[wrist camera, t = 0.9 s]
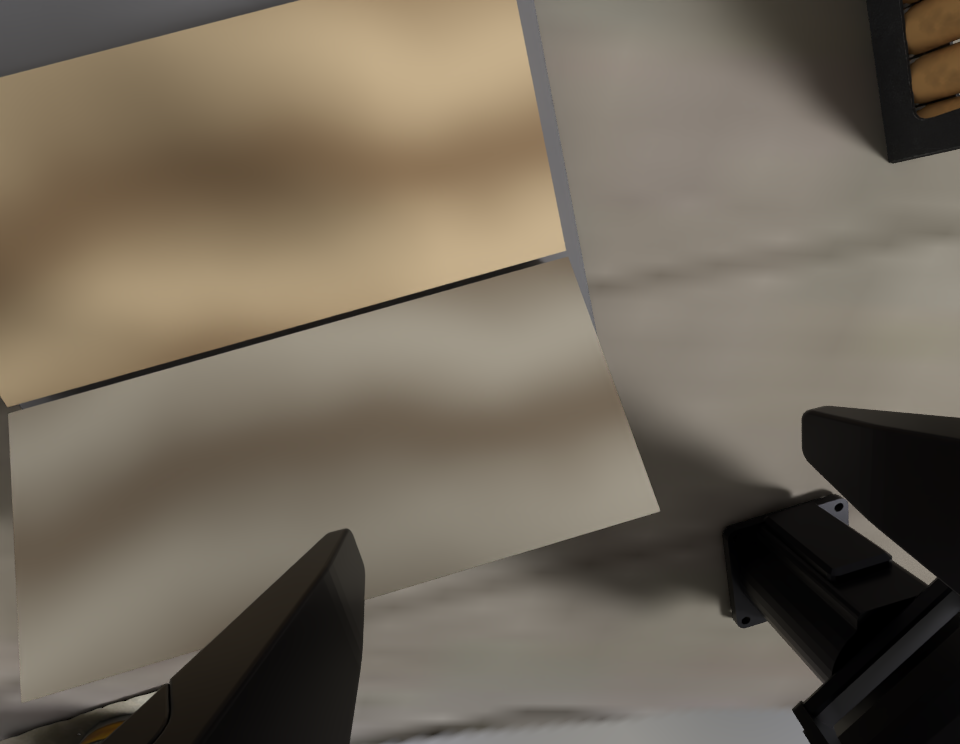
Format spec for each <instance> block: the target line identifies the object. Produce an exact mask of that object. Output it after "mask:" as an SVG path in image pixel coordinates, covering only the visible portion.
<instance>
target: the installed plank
mask: <svg viewBox="0 0 960 744" xmlns="http://www.w3.org/2000/svg"><path fill="white" fill-rule="evenodd" d="M563 251H566V247H565V242H564V237H563V232H562V227H561V222H560V217H559V212H558V207H557V202H556V197H555V192H554V187H553V182H552V177H551V172H550V167H549V162H548V157H547V152H546V147H545V142H544V137H543V132H542V127H541V122H540V117H539V112H538V106H537V101H536V96H535V91H534V86H533V81H532V76H531V71H530V66H529V61H528V56H527V51H526V46H525V41H524V36H523V31H522V26H521V21H520V16H519V11H518V6H517V1H516V0H298V1H294V2H291V3H287V4H283V5H279V6H275V7H271V8H267V9H263V10H260V11H256V12H252V13H248V14H244V15H240V16H236V17H232V18H229V19H225V20H221V21H217V22H213V23H209V24H205V25H201V26H198V27H194V28H190V29H186V30H182V31H178V32H174V33H170V34H167V35H163V36H159V37H155V38H151V39H147V40H143V41H139V42H136V43H132V44H128V45H124V46H120V47H116V48H112V49H108V50H105V51H101V52H97V53H93V54H89V55H85V56H81V57H77V58H74V59H70V60H66V61H62V62H58V63H54V64H50V65H46V66H43V67H39V68H35V69H31V70H27V71H23V72H19V73H15V74H12V75H8V76H4V77H0V396H1V398H2V399H3V401H4V403H5V404H6V406H7V407H10V406H14V405H17V404H21V403H24V402H28V401H32V400H35V399H39V398H42V397H46V396H49V395H53V394H57V393H60V392H64V391H67V390H71V389H74V388H78V387H82V386H85V385H89V384H92V383H96V382H99V381H103V380H106V379H110V378H114V377H117V376H121V375H124V374H128V373H131V372H135V371H139V370H142V369H146V368H149V367H153V366H156V365H160V364H164V363H167V362H171V361H174V360H178V359H181V358H185V357H189V356H192V355H196V354H199V353H203V352H206V351H210V350H214V349H217V348H221V347H224V346H228V345H231V344H235V343H239V342H242V341H246V340H249V339H253V338H256V337H260V336H263V335H267V334H271V333H274V332H278V331H281V330H285V329H288V328H292V327H296V326H299V325H303V324H306V323H310V322H313V321H317V320H321V319H324V318H328V317H331V316H335V315H338V314H342V313H346V312H349V311H353V310H356V309H360V308H363V307H367V306H371V305H374V304H378V303H381V302H385V301H388V300H392V299H396V298H399V297H403V296H406V295H410V294H413V293H417V292H420V291H424V290H428V289H431V288H435V287H438V286H442V285H445V284H449V283H453V282H456V281H460V280H463V279H467V278H470V277H474V276H478V275H481V274H485V273H488V272H492V271H495V270H499V269H503V268H506V267H510V266H513V265H517V264H520V263H524V262H528V261H531V260H535V259H538V258H542V257H545V256H549V255H553V254H556V253H560V252H563Z"/></svg>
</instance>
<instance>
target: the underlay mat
mask: <svg viewBox="0 0 960 744" xmlns="http://www.w3.org/2000/svg"><path fill="white" fill-rule="evenodd" d="M294 1H298V0H0V77H4V76H8V75H12V74H15V73H19V72H23V71H27V70H31V69H35V68H39V67H43V66H46V65H50V64H54V63H58V62H62V61H66V60H70V59H74V58H77V57H81V56H85V55H89V54H93V53H97V52H101V51H105V50H108V49H112V48H116V47H120V46H124V45H128V44H132V43H136V42H139V41H143V40H147V39H151V38H155V37H159V36H163V35H167V34H170V33H174V32H178V31H182V30H186V29H190V28H194V27H198V26H201V25H205V24H209V23H213V22H217V21H221V20H225V19H229V18H232V17H236V16H240V15H244V14H248V13H252V12H256V11H260V10H263V9H267V8H271V7H275V6H279V5H283V4H287V3H291V2H294ZM516 1H517V6H518V11H519V16H520V21H521V26H522V31H523V36H524V41H525V46H526V51H527V56H528V61H529V66H530V71H531V76H532V81H533V86H534V91H535V96H536V101H537V106H538V112H539V117H540V122H541V127H542V132H543V137H544V142H545V147H546V152H547V157H548V162H549V167H550V172H551V177H552V182H553V187H554V192H555V197H556V202H557V207H558V212H559V217H560V222H561V227H562V232H563V237H564V242H565V247H566V251H563V252H560V253H556V254H553V255H549V256H545V257H542V258H538V259H535V260H531V261H528V262H524V263H520V264H517V265H513V266H510V267H506V268H503V269H499V270H495V271H492V272H488V273H485V274H481V275H478V276H474V277H470V278H467V279H463V280H460V281H456V282H453V283H449V284H445V285H442V286H438V287H435V288H431V289H428V290H424V291H420V292H417V293H413V294H410V295H406V296H403V297H399V298H396V299H392V300H388V301H385V302H381V303H378V304H374V305H371V306H367V307H363V308H360V309H356V310H353V311H349V312H346V313H342V314H338V315H335V316H331V317H328V318H324V319H321V320H317V321H313V322H310V323H306V324H303V325H299V326H296V327H292V328H288V329H285V330H281V331H278V332H274V333H271V334H267V335H263V336H260V337H256V338H253V339H249V340H246V341H242V342H239V343H235V344H231V345H228V346H224V347H221V348H217V349H214V350H210V351H206V352H203V353H199V354H196V355H192V356H189V357H185V358H181V359H178V360H174V361H171V362H167V363H164V364H160V365H156V366H153V367H149V368H146V369H142V370H139V371H135V372H131V373H128V374H124V375H121V376H117V377H114V378H110V379H106V380H103V381H99V382H96V383H92V384H89V385H85V386H82V387H78V388H74V389H71V390H67V391H64V392H60V393H57V394H53V395H49V396H46V397H42V398H39V399H35V400H32V401H28V402H24V403H21V404H19V405H20V407H21V408H22V410H23V409H26V408H30V407H33V406H37V405H40V404H44V403H47V402H51V401H55V400H58V399H62V398H65V397H69V396H72V395H76V394H80V393H83V392H87V391H90V390H94V389H97V388H101V387H105V386H108V385H112V384H115V383H119V382H122V381H126V380H129V379H133V378H137V377H140V376H144V375H147V374H151V373H154V372H158V371H162V370H165V369H169V368H172V367H176V366H179V365H183V364H186V363H190V362H194V361H197V360H201V359H204V358H208V357H211V356H215V355H219V354H222V353H226V352H229V351H233V350H236V349H240V348H243V347H247V346H251V345H254V344H258V343H261V342H265V341H268V340H272V339H276V338H279V337H283V336H286V335H290V334H293V333H297V332H300V331H304V330H308V329H311V328H315V327H318V326H322V325H325V324H329V323H333V322H336V321H340V320H343V319H347V318H350V317H354V316H357V315H361V314H365V313H368V312H372V311H375V310H379V309H382V308H386V307H390V306H393V305H397V304H400V303H404V302H407V301H411V300H414V299H418V298H422V297H425V296H429V295H432V294H436V293H439V292H443V291H447V290H450V289H454V288H457V287H461V286H464V285H468V284H471V283H475V282H479V281H482V280H486V279H489V278H493V277H496V276H500V275H504V274H507V273H511V272H514V271H518V270H521V269H525V268H528V267H532V266H536V265H539V264H543V263H546V262H550V261H553V260H557V259H561V258H564V257H568V258H569V260H570V263H571V266H572V269H573V271H574V274H575V277H576V280H577V282H578V285H579V288H580V291H581V293H582V296H583V299H584V302H585V304H586V307H587V310H588V313H589V315H590V318H591V321H592V324H593V326H594V329H595V332H596V328H595V322H594V317H593V312H592V306H591V301H590V296H589V290H588V285H587V280H586V275H585V269H584V264H583V259H582V253H581V248H580V243H579V238H578V232H577V227H576V222H575V216H574V211H573V206H572V201H571V195H570V190H569V185H568V179H567V174H566V169H565V163H564V158H563V153H562V148H561V142H560V137H559V132H558V126H557V121H556V116H555V111H554V105H553V100H552V95H551V89H550V84H549V79H548V74H547V68H546V63H545V58H544V52H543V47H542V42H541V36H540V31H539V26H538V21H537V15H536V10H535V5H534V0H516ZM596 335H597V333H596Z"/></svg>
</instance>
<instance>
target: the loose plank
mask: <svg viewBox="0 0 960 744" xmlns="http://www.w3.org/2000/svg"><path fill="white" fill-rule="evenodd" d="M8 421H9V443H10V465H11V486H12V508H13V530H14V551H15V573H16V595H17V617H18V638H19V660H20V682H21V703H24V702H27V701H31V700H34V699H37V698H41V697H44V696H47V695H51V694H54V693H57V692H61V691H64V690H67V689H71V688H74V687H77V686H81V685H84V684H87V683H91V682H94V681H97V680H100V679H104V678H107V677H110V676H114V675H117V674H120V673H124V672H127V671H130V670H134V669H137V668H140V667H144V666H147V665H150V664H154V663H157V662H160V661H164V660H167V659H170V658H174V657H177V656H180V655H184V654H187V653H190V652H194V651H197V650H200V649H203V648H204V647H205V646H206V645H208V644H209V643H210V642H211V641H212V640H213V639H214V638H215V637H216V636H217V635H218V634H219V633H220V632H222V631H223V630H224V629H225V628H226V627H227V626H228V625H229V624H230V623H231V622H232V621H233V620H234V619H235V618H237V617H238V616H239V615H240V614H241V613H242V612H243V611H244V610H245V609H246V608H247V607H248V606H249V605H251V604H252V603H253V602H254V601H255V600H256V599H257V598H258V597H259V596H260V595H261V594H262V593H263V592H264V591H266V590H267V589H268V588H269V587H270V586H271V585H272V584H273V583H274V582H275V581H276V580H277V579H278V578H280V577H281V576H282V575H283V574H284V573H285V572H286V571H287V570H288V569H289V568H290V567H291V566H292V565H294V564H295V563H296V562H297V561H298V560H299V559H300V558H301V557H302V556H303V555H304V554H305V553H306V552H307V551H309V550H310V549H311V548H312V547H313V546H314V545H315V544H316V543H317V542H318V541H319V540H320V539H321V538H323V537H324V536H325V535H326V534H327V533H329V532H333V531H337V530H341V529H345V528H348V529H350V530H351V532H352V533H353V535H354V538H355V541H356V544H357V546H358V549H359V552H360V555H361V558H362V560H363V563H364V567H365V600H367V599H370V598H374V597H377V596H380V595H384V594H387V593H390V592H394V591H397V590H400V589H404V588H407V587H410V586H414V585H417V584H420V583H424V582H427V581H430V580H433V579H437V578H440V577H443V576H447V575H450V574H453V573H457V572H460V571H463V570H467V569H470V568H473V567H477V566H480V565H483V564H487V563H490V562H493V561H497V560H500V559H503V558H507V557H510V556H513V555H517V554H520V553H523V552H527V551H530V550H533V549H537V548H540V547H543V546H547V545H550V544H553V543H557V542H560V541H563V540H567V539H570V538H573V537H577V536H580V535H583V534H587V533H590V532H593V531H597V530H600V529H603V528H607V527H610V526H613V525H617V524H620V523H623V522H627V521H630V520H633V519H637V518H640V517H643V516H647V515H650V514H653V513H657V512H660V509H659V506H658V503H657V500H656V498H655V495H654V492H653V489H652V487H651V484H650V481H649V478H648V475H647V473H646V470H645V467H644V464H643V462H642V459H641V456H640V453H639V451H638V448H637V445H636V442H635V440H634V437H633V434H632V431H631V429H630V426H629V423H628V420H627V418H626V415H625V412H624V409H623V406H622V404H621V401H620V398H619V395H618V393H617V390H616V387H615V384H614V382H613V379H612V376H611V373H610V371H609V368H608V365H607V362H606V360H605V357H604V354H603V351H602V349H601V346H600V343H599V340H598V338H597V335H596V332H595V329H594V326H593V324H592V321H591V318H590V315H589V313H588V310H587V307H586V304H585V302H584V299H583V296H582V293H581V291H580V288H579V285H578V282H577V280H576V277H575V274H574V271H573V269H572V266H571V263H570V260H569V258H568V257H564V258H561V259H557V260H553V261H550V262H546V263H543V264H539V265H536V266H532V267H528V268H525V269H521V270H518V271H514V272H511V273H507V274H504V275H500V276H496V277H493V278H489V279H486V280H482V281H479V282H475V283H471V284H468V285H464V286H461V287H457V288H454V289H450V290H447V291H443V292H439V293H436V294H432V295H429V296H425V297H422V298H418V299H414V300H411V301H407V302H404V303H400V304H397V305H393V306H390V307H386V308H382V309H379V310H375V311H372V312H368V313H365V314H361V315H357V316H354V317H350V318H347V319H343V320H340V321H336V322H333V323H329V324H325V325H322V326H318V327H315V328H311V329H308V330H304V331H300V332H297V333H293V334H290V335H286V336H283V337H279V338H276V339H272V340H268V341H265V342H261V343H258V344H254V345H251V346H247V347H243V348H240V349H236V350H233V351H229V352H226V353H222V354H219V355H215V356H211V357H208V358H204V359H201V360H197V361H194V362H190V363H186V364H183V365H179V366H176V367H172V368H169V369H165V370H162V371H158V372H154V373H151V374H147V375H144V376H140V377H137V378H133V379H129V380H126V381H122V382H119V383H115V384H112V385H108V386H105V387H101V388H97V389H94V390H90V391H87V392H83V393H80V394H76V395H72V396H69V397H65V398H62V399H58V400H55V401H51V402H47V403H44V404H40V405H37V406H33V407H30V408H26V409H23V410H19V411H15V412H12V413H8Z"/></svg>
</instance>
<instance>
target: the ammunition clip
mask: <svg viewBox="0 0 960 744" xmlns="http://www.w3.org/2000/svg"><path fill="white" fill-rule="evenodd" d="M866 2H867V9H868V16H869V23H870V31H871V38H872V45H873V52H874V59H875V67H876V74H877V81H878V88H879V95H880V103H881V110H882V117H883V124H884V131H885V139H886V146H887V153H888V160H889V163H897V162H902V161H907V160H911V159H916V158H920V157H925V156H929V155H934V154H938V153H943V152H948V151H952V150H957V149H960V95H959V93H960V42H958V43H955V44H953V41H955V40H957V39H960V0H866Z"/></svg>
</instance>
